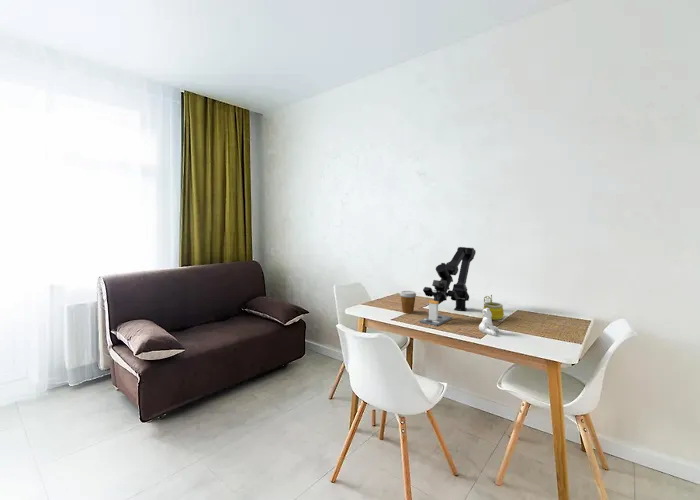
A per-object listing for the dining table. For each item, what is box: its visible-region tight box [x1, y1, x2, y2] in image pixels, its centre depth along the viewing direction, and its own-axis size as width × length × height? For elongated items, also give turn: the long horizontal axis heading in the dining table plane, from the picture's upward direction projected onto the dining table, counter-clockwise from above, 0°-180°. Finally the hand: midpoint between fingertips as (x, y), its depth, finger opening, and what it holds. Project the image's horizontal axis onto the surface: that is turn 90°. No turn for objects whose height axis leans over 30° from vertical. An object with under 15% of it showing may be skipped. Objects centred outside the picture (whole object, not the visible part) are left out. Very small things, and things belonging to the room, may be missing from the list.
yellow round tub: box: [482, 294, 505, 321], centre depth 190 cm, size 13×11×12 cm
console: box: [419, 313, 453, 327], centre depth 185 cm, size 18×10×2 cm, turn 138°
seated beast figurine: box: [478, 308, 500, 337], centre depth 165 cm, size 10×9×12 cm
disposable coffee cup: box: [399, 290, 417, 314], centre depth 202 cm, size 10×10×12 cm
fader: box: [428, 299, 440, 321], centre depth 182 cm, size 2×5×10 cm, turn 48°
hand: (434, 306), depth 183 cm, fingers closed, pressing on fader
